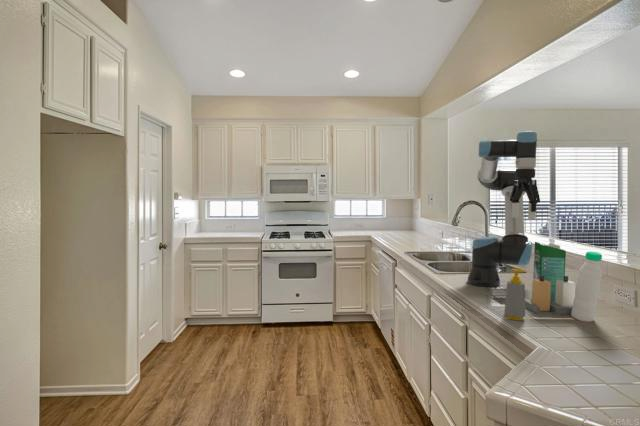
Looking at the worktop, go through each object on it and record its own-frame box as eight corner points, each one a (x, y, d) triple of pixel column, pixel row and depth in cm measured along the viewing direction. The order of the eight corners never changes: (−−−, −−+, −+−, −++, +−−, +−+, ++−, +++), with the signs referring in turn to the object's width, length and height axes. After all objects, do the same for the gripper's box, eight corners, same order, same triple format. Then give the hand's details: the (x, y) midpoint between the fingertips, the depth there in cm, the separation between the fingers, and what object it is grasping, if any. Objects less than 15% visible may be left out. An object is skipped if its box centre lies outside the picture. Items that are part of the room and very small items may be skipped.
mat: (490, 299, 166) (490, 297, 166) (513, 299, 166) (513, 298, 166) (501, 305, 156) (501, 304, 156) (525, 306, 156) (526, 304, 156)
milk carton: (563, 306, 157) (566, 245, 156) (538, 304, 159) (541, 244, 158) (555, 300, 166) (558, 242, 164) (532, 298, 168) (534, 241, 167)
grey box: (524, 308, 154) (525, 273, 153) (577, 308, 154) (579, 274, 153) (536, 315, 145) (538, 278, 144) (593, 316, 145) (595, 279, 144)
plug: (542, 307, 151) (544, 274, 151) (549, 310, 147) (551, 276, 146) (531, 307, 151) (532, 274, 151) (537, 310, 147) (539, 276, 146)
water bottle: (588, 324, 137) (601, 257, 131) (567, 316, 142) (578, 252, 137) (597, 319, 141) (610, 254, 135) (575, 311, 146) (587, 248, 141)
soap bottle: (518, 322, 137) (520, 271, 136) (500, 316, 142) (501, 268, 141) (529, 319, 140) (531, 270, 139) (510, 313, 146) (512, 266, 145)
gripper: (502, 170, 177) (500, 216, 178) (532, 166, 152) (529, 220, 153) (519, 170, 176) (517, 216, 178) (551, 166, 152) (549, 220, 153)
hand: (523, 218), depth 165 cm, fingers open, 13 cm apart
